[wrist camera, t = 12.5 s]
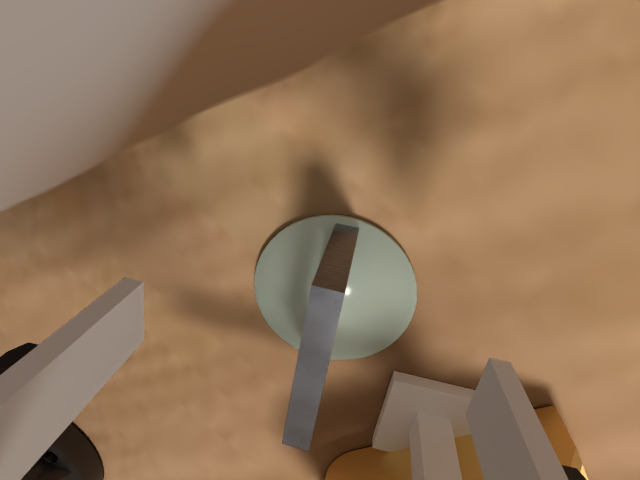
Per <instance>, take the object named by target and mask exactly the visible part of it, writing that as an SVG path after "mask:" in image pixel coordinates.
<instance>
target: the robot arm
mask: <svg viewBox="0 0 640 480" xmlns="http://www.w3.org/2000/svg"><path fill="white" fill-rule="evenodd" d="M143 341H144V282H142V281H138V280H133V279H129V278H123V279H122V280H121V281H119V282H118V283H117V284H116V285H114V286H113V287H112V288H110V289H109V290H108V291H107V292H105V293H104V294H103V295H102V296H100V297H99V298H98V299H96V300H95V301H94V302H93V303H91V304H90V305H89V306H88V307H86V308H85V309H84V310H82V311H81V312H80V313H79V314H77V315H76V316H75V317H74V318H72V319H71V320H70V321H68V322H67V323H66V324H65V325H63V326H62V327H61V328H60V329H58V330H57V331H56V332H54V333H53V334H52V335H51V336H49V337H48V338H47V339H46V340H44V341H43V342H42V343H40V344H39V345H37V344H33V343H26V344H24V345H21V346H19V347H17V348H15V349H12V350H10V351H8V352H6V353H5V354H4V355H2V356H1V357H0V480H103V469H102V465H101V462H100V459H99V457H98V455H97V453H96V451H95V450H94V448H93V447H92V445H91V444H90V443H89V441H88V440H87V439H86V438H85V437H84V435H83V434H82V433H81V432H80V431H79V430H78V429H76V428H75V427H74V426H73V425H72V424H71V422H72V421H73V420H74V419H75V418H76V417H77V416H78V414H79V413H80V412H81V411H82V410H83V409H84V408H85V407H86V405H87V404H88V403H89V402H90V401H91V400H92V399H93V397H94V396H95V395H96V394H97V393H98V392H99V391H100V390H101V388H102V387H103V386H104V385H105V384H106V383H107V382H108V381H109V379H110V378H111V377H112V376H113V375H114V374H115V373H116V372H117V370H118V369H119V368H120V367H121V366H122V365H123V364H124V362H125V361H126V360H127V359H128V358H129V357H130V356H131V355H132V353H133V352H134V351H135V350H136V349H137V348H138V347H139V346H140V344H141V343H142V342H143ZM465 414H466V417H467V421H468V424H469V428H470V431H471V435H472V438H473V442H474V446H475V449H476V453H477V456H478V460H479V463H480V467H481V471H482V474H483V478H484V480H587V479H586V478H585V477H584V476H583V475H582V474H581V473H580V471H579V470H578V469H577V468H573V467H569V466H564V465H561V463H560V461H559V459H558V457H557V455H556V453H555V451H554V449H553V447H552V445H551V443H550V441H549V439H548V437H547V435H546V433H545V431H544V429H543V427H542V425H541V423H540V421H539V419H538V417H537V415H536V413H535V411H534V409H533V407H532V405H531V403H530V401H529V398H528V396H527V394H526V392H525V390H524V388H523V386H522V384H521V382H520V380H519V378H518V376H517V374H516V372H515V370H514V368H513V366H512V364H511V362H507V361H502V360H498V359H493V358H489V360H488V362H487V365H486V367H485V369H484V372H483V374H482V376H481V378H480V381H479V383H478V385H477V388H476V390H475V392H474V395H473V397H472V399H471V401H470V404H469V406H468V408H467V411H466V413H465Z"/></svg>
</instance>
